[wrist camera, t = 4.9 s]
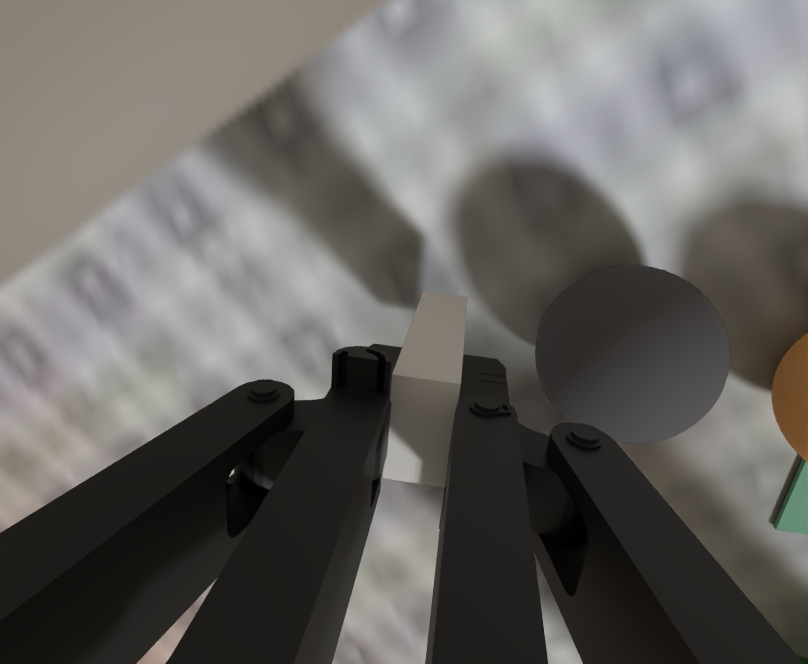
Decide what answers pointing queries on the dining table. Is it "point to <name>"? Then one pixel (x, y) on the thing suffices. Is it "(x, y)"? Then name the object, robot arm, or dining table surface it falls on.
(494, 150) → the dining table surface
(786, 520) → the green mark
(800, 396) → the ball orange
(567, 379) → the cue ball black
